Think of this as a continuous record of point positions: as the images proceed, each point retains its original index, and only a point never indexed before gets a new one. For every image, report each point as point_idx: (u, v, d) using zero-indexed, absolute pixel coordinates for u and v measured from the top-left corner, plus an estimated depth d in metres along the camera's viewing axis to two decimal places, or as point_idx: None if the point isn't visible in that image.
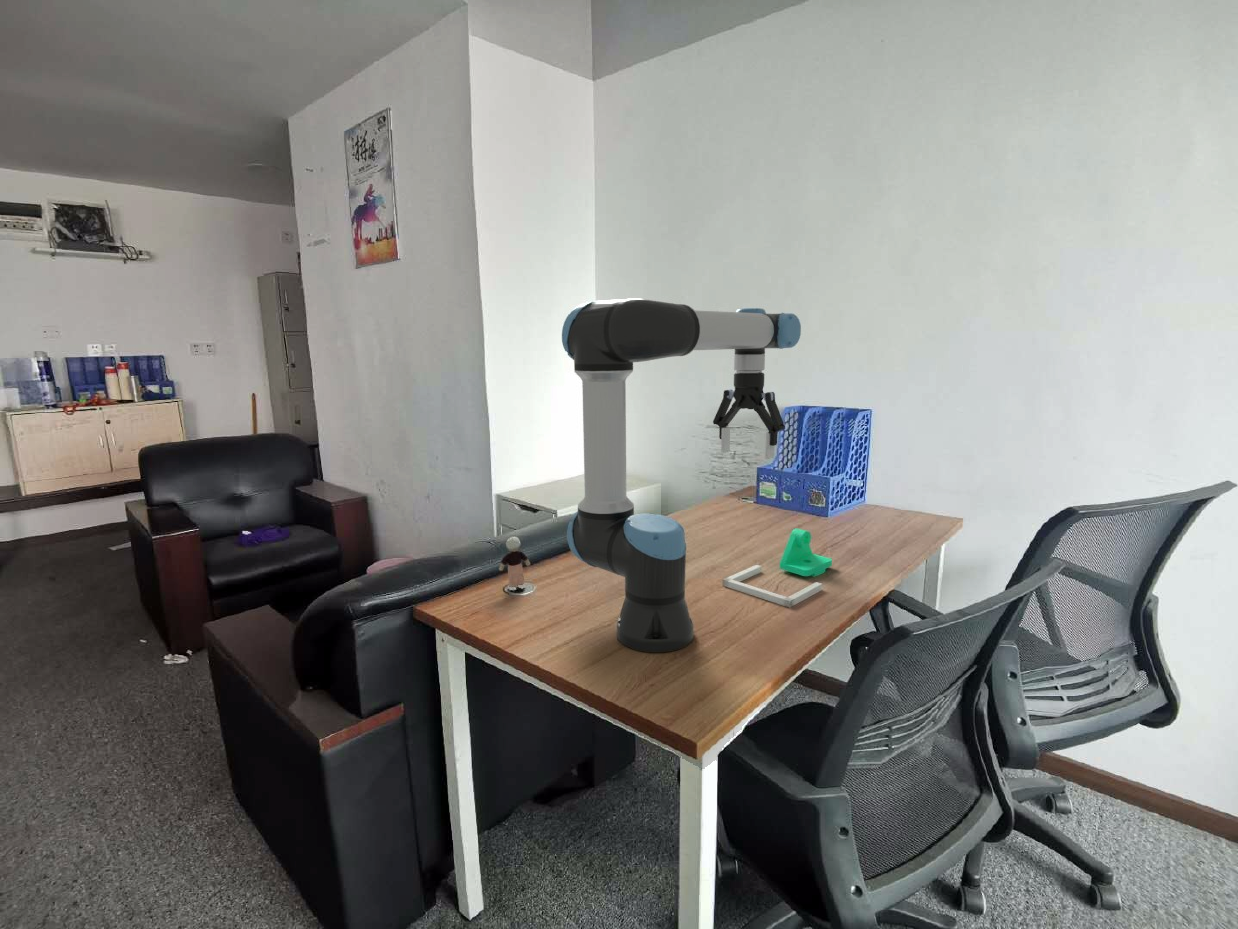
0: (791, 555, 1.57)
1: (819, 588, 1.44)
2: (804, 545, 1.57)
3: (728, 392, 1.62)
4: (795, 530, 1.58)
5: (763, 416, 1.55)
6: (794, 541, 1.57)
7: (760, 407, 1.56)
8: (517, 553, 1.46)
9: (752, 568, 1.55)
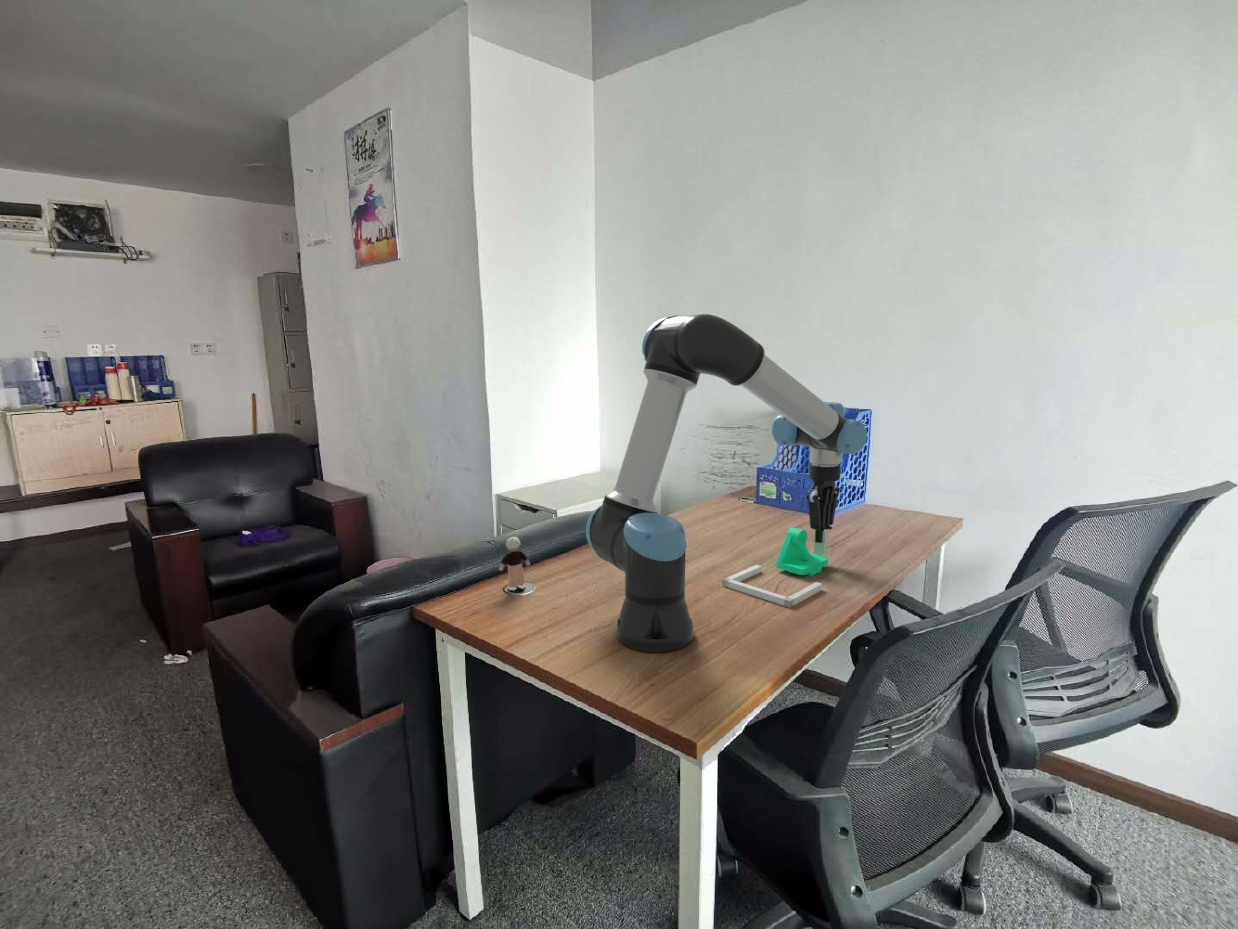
0: (788, 554, 1.57)
1: (819, 588, 1.44)
2: (800, 544, 1.57)
3: None
4: (791, 529, 1.58)
5: None
6: (790, 540, 1.57)
7: None
8: (517, 553, 1.46)
9: (752, 568, 1.55)
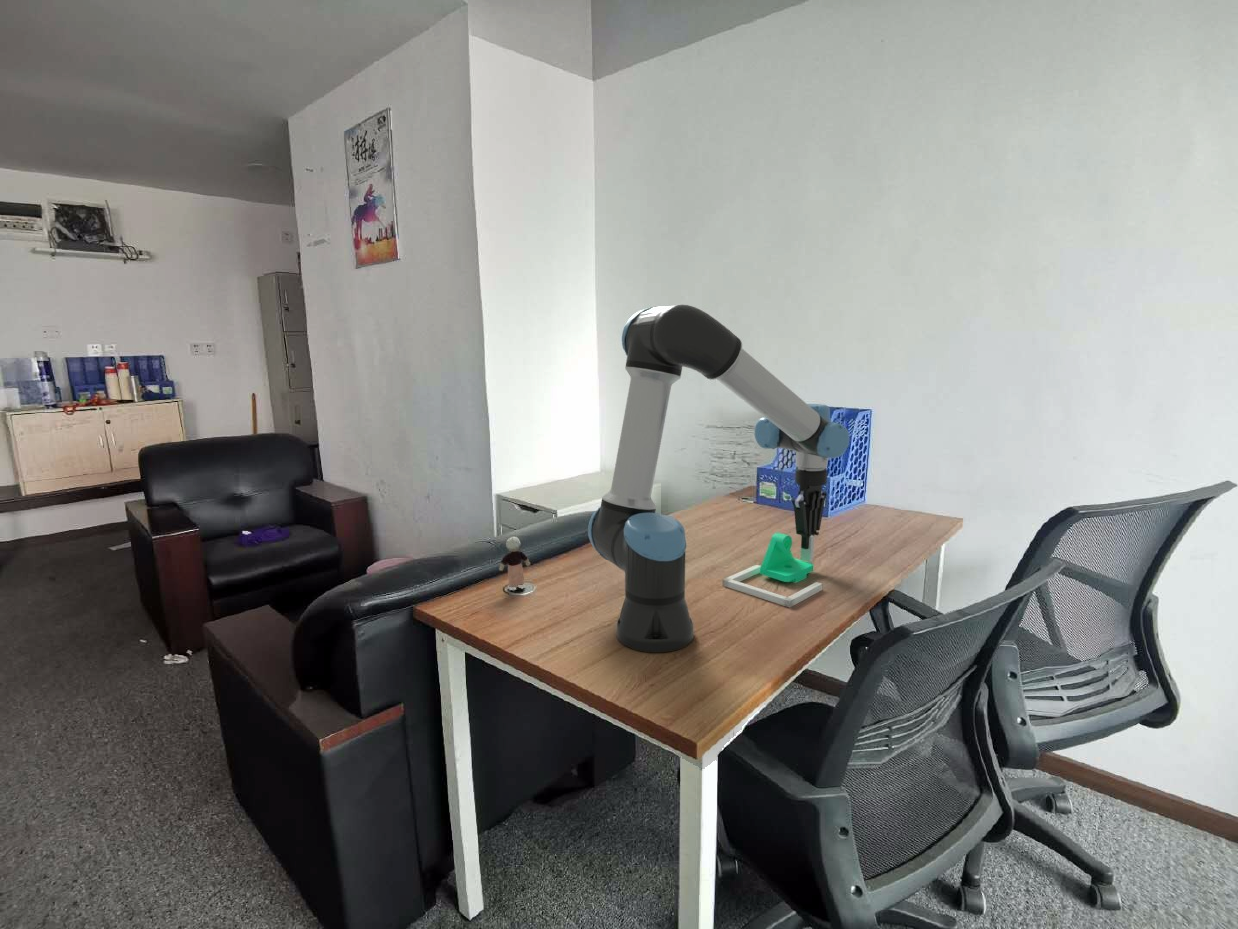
0: (772, 560, 1.53)
1: (819, 588, 1.44)
2: (785, 550, 1.53)
3: None
4: (776, 534, 1.54)
5: None
6: (775, 546, 1.53)
7: None
8: (517, 553, 1.46)
9: (752, 568, 1.55)
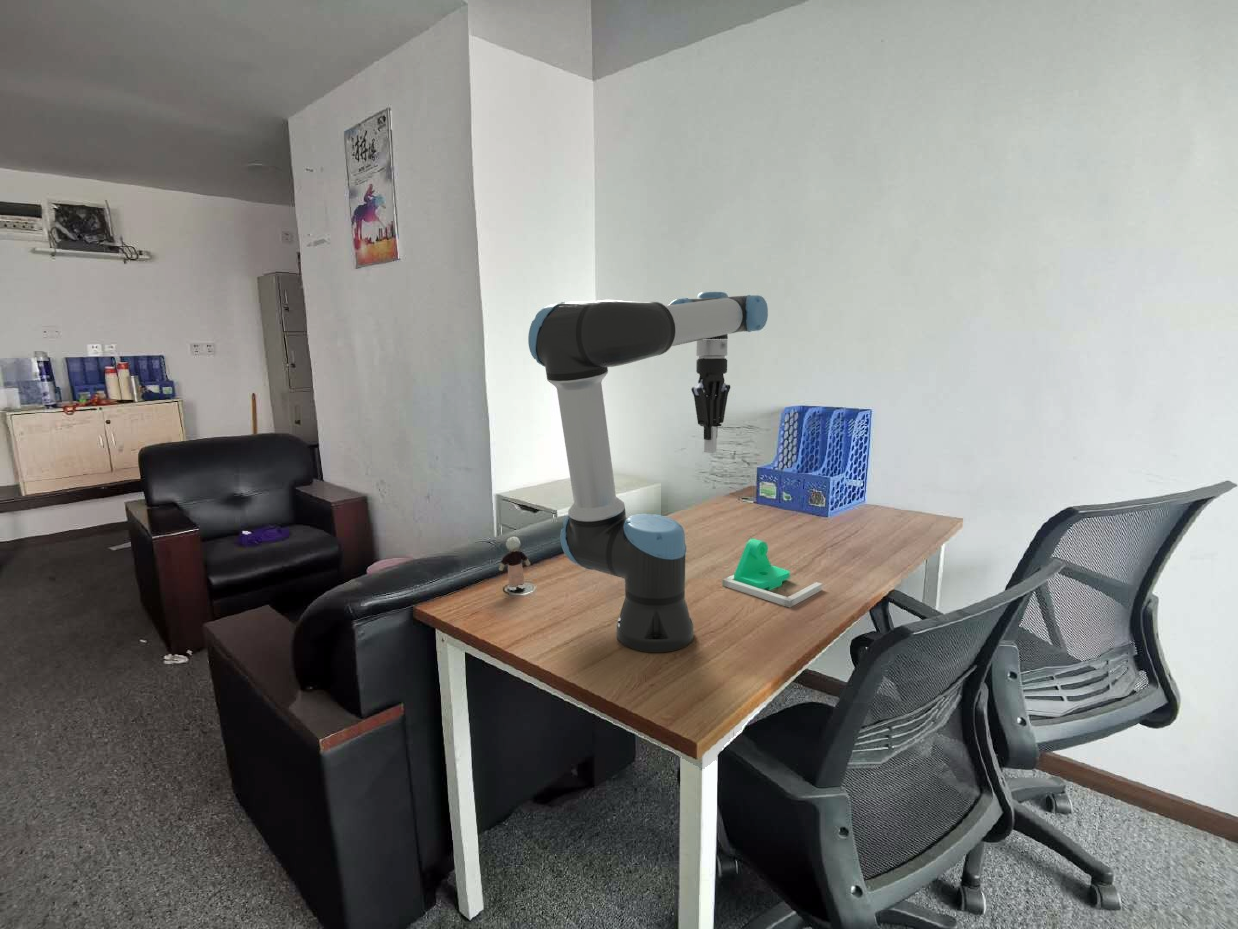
0: (746, 567, 1.49)
1: (819, 588, 1.44)
2: (760, 556, 1.49)
3: None
4: (751, 540, 1.50)
5: None
6: (749, 552, 1.49)
7: (704, 398, 1.55)
8: (517, 553, 1.46)
9: None
